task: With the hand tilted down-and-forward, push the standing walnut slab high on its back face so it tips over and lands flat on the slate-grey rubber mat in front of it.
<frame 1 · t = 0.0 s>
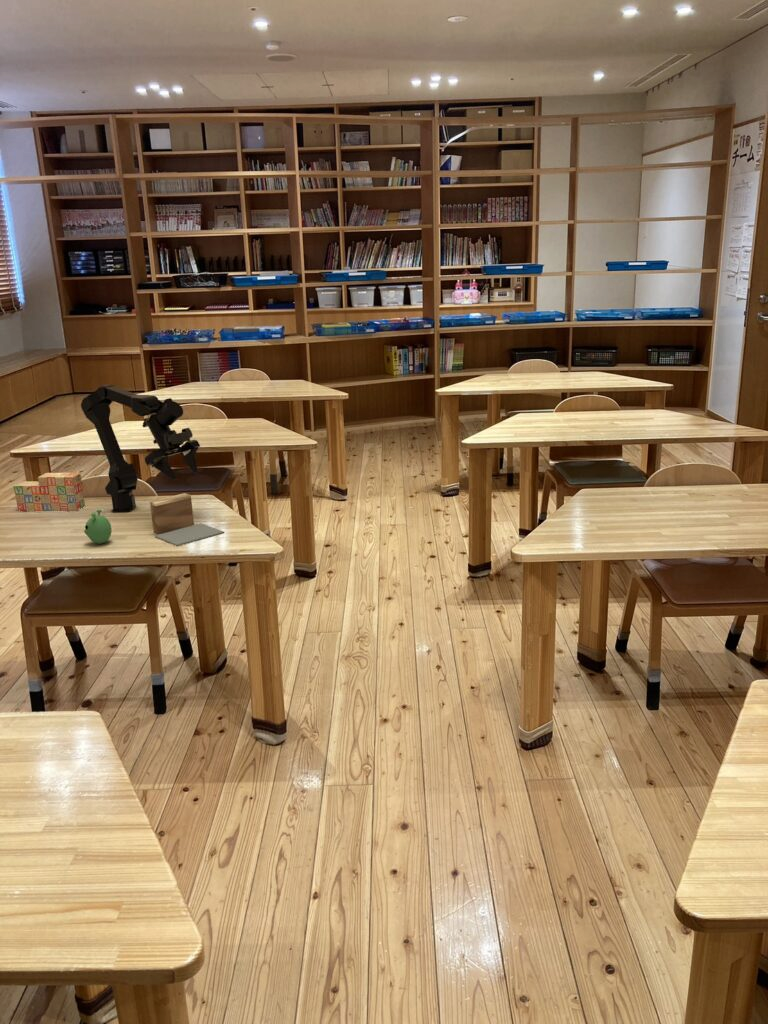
hand: (185, 476, 252), 15 cm above the table, tool tilted 35°, fingers open, 9 cm apart
slab: (174, 529, 249), on the table
alien toy: (99, 543, 239), on the table
mat: (189, 535, 243), on the table
stack of blocks: (52, 510, 277), on the table
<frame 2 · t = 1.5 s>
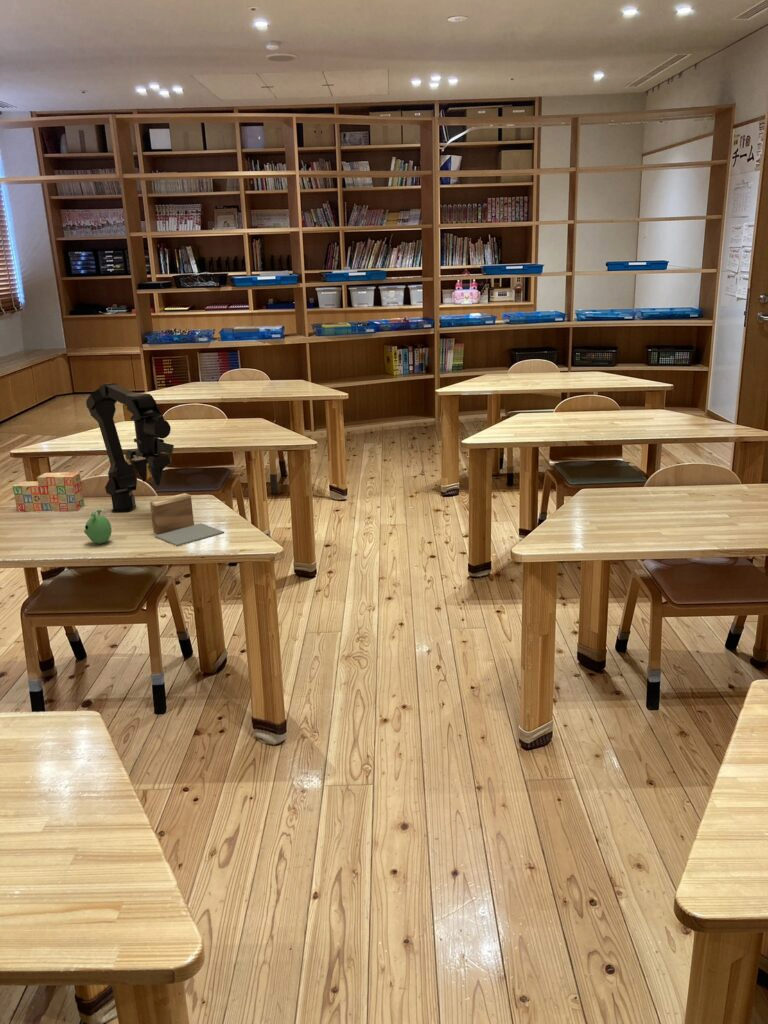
hand: (151, 483, 257), 12 cm above the table, tool pointing down, fingers open, 8 cm apart
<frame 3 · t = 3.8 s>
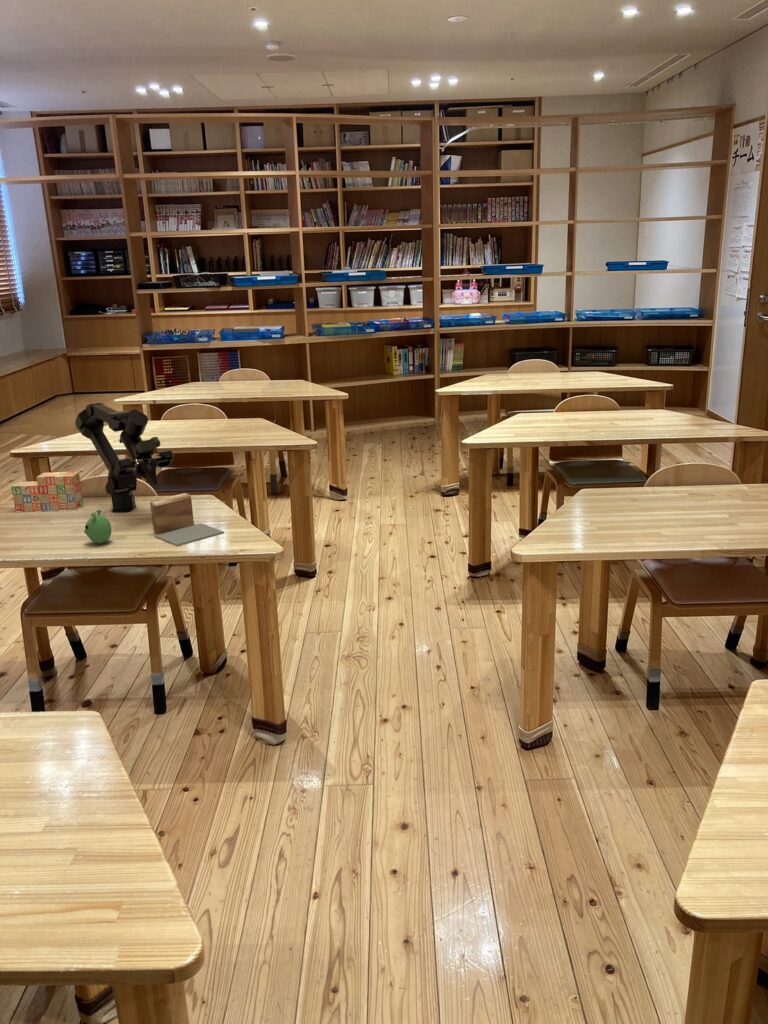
hand: (155, 484, 252), 13 cm above the table, tool tilted 45°, fingers closed
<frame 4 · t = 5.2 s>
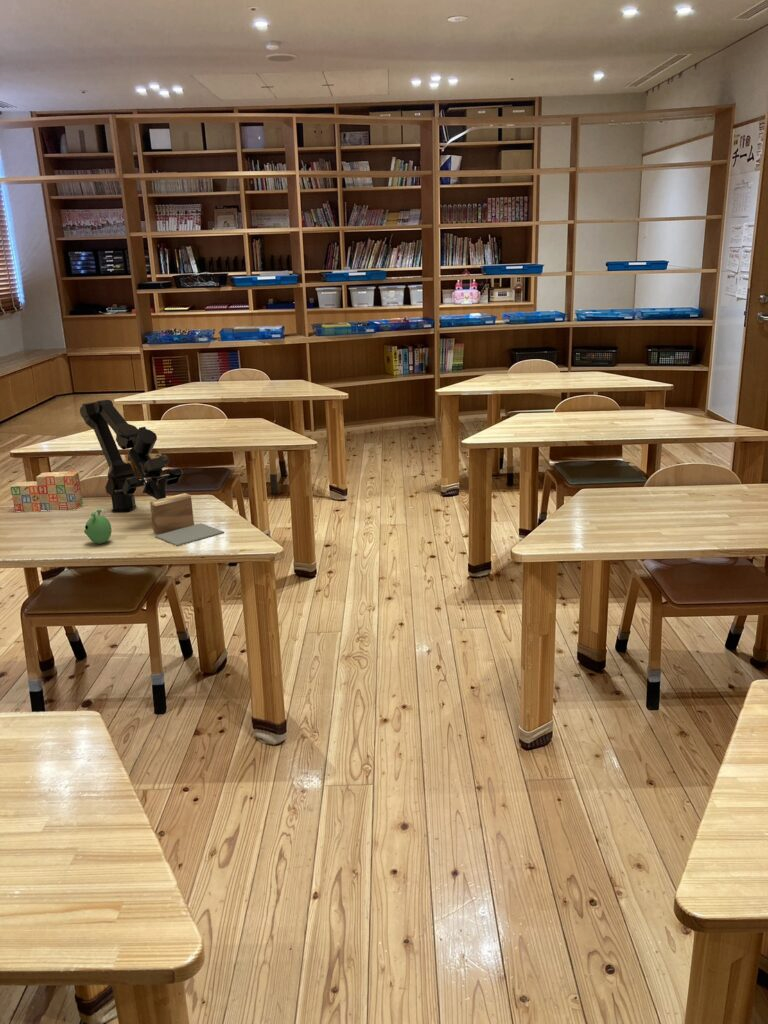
hand: (164, 502, 250), 8 cm above the table, tool tilted 45°, fingers closed
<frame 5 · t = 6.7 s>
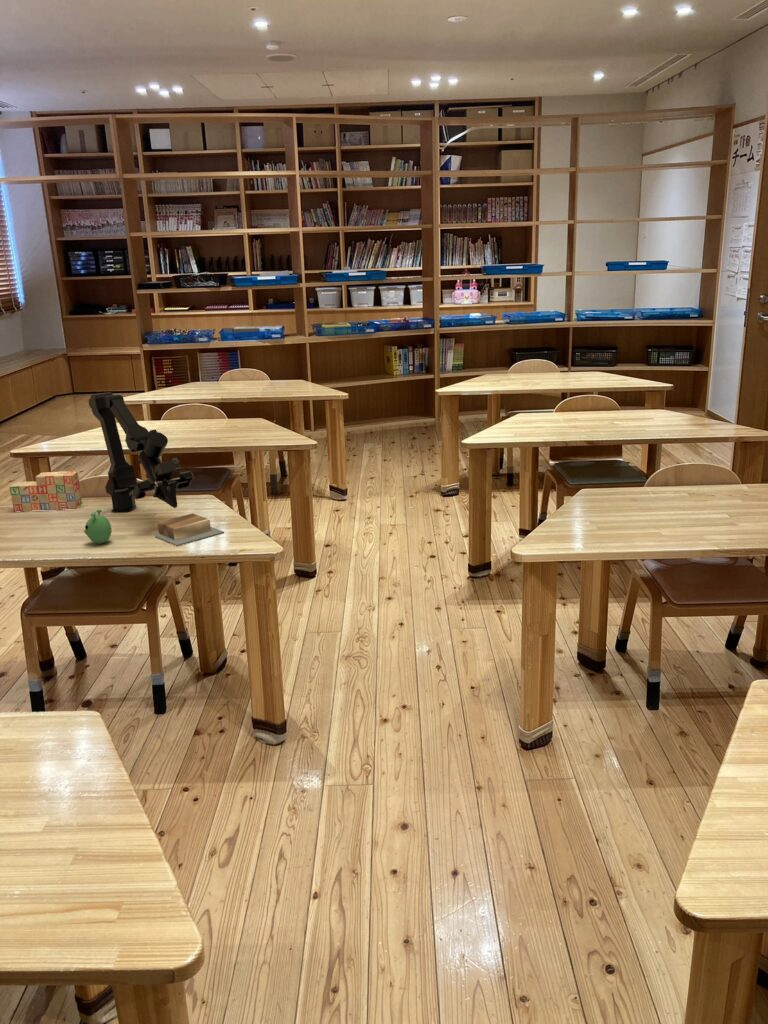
hand: (175, 507, 245), 8 cm above the table, tool tilted 45°, fingers closed
slab: (175, 523, 248), point 2 cm above the table, tilted 90°, touching mat
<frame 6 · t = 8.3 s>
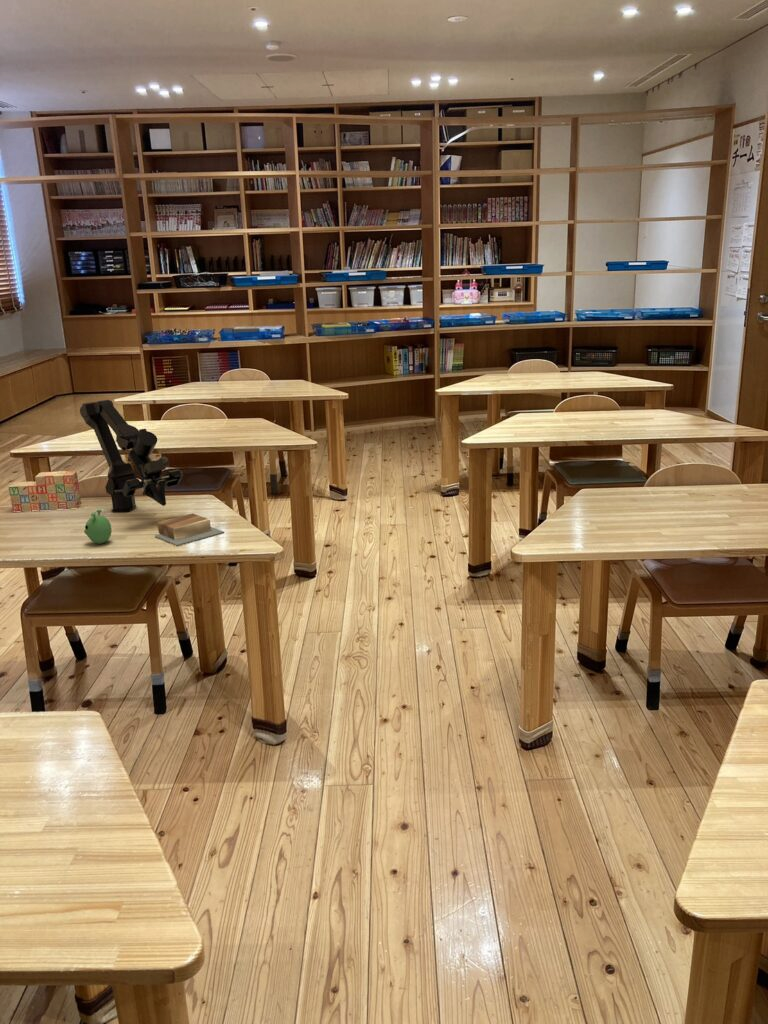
hand: (164, 504, 251), 7 cm above the table, tool tilted 45°, fingers closed
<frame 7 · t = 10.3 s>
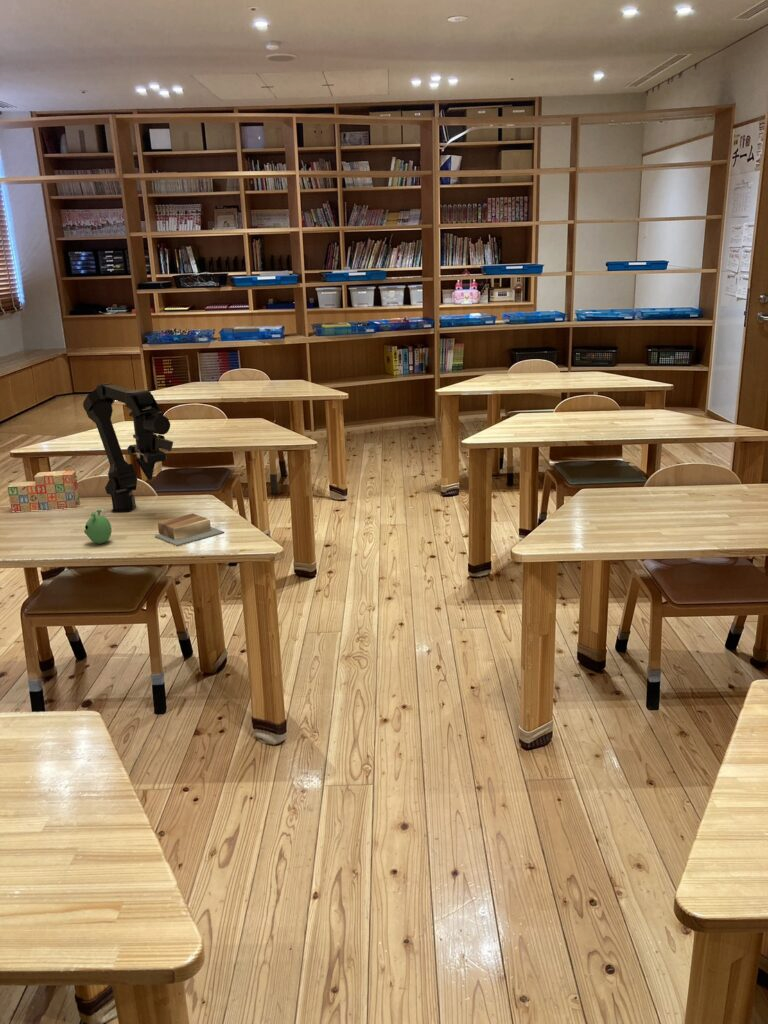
hand: (149, 479, 258), 13 cm above the table, tool pointing down, fingers closed
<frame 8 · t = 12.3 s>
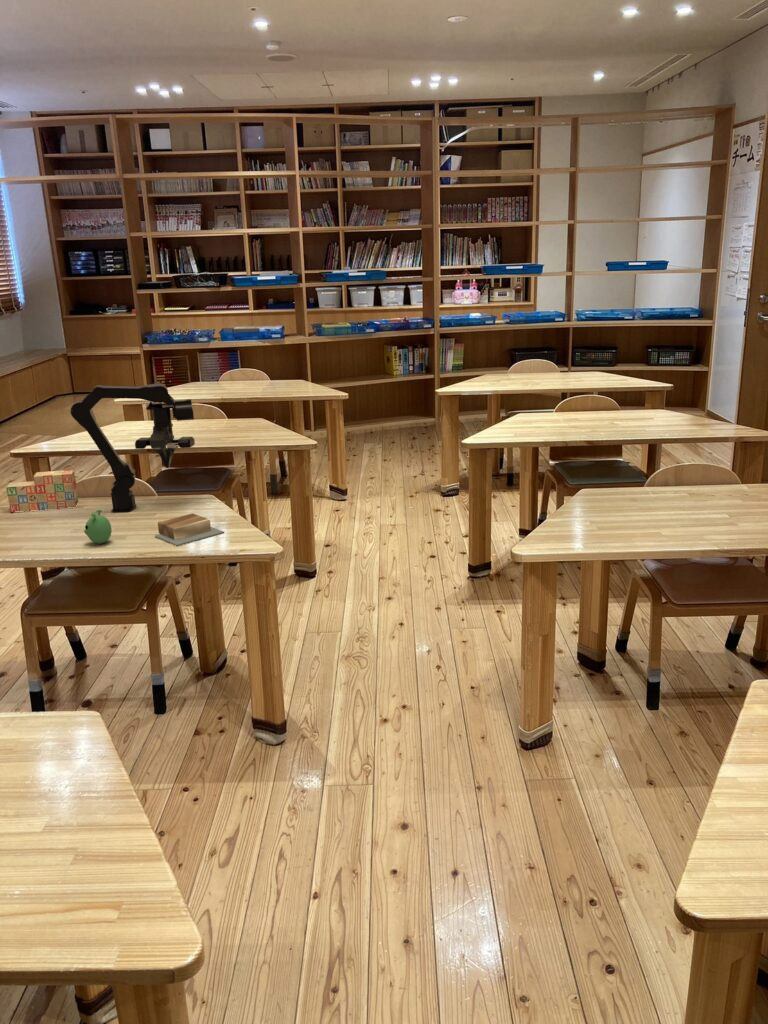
hand: (167, 467, 273), 13 cm above the table, tool pointing down, fingers closed
at the end: slab tilted 90°; slab 7.5 cm from the mat (horizontally); slab touching mat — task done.
